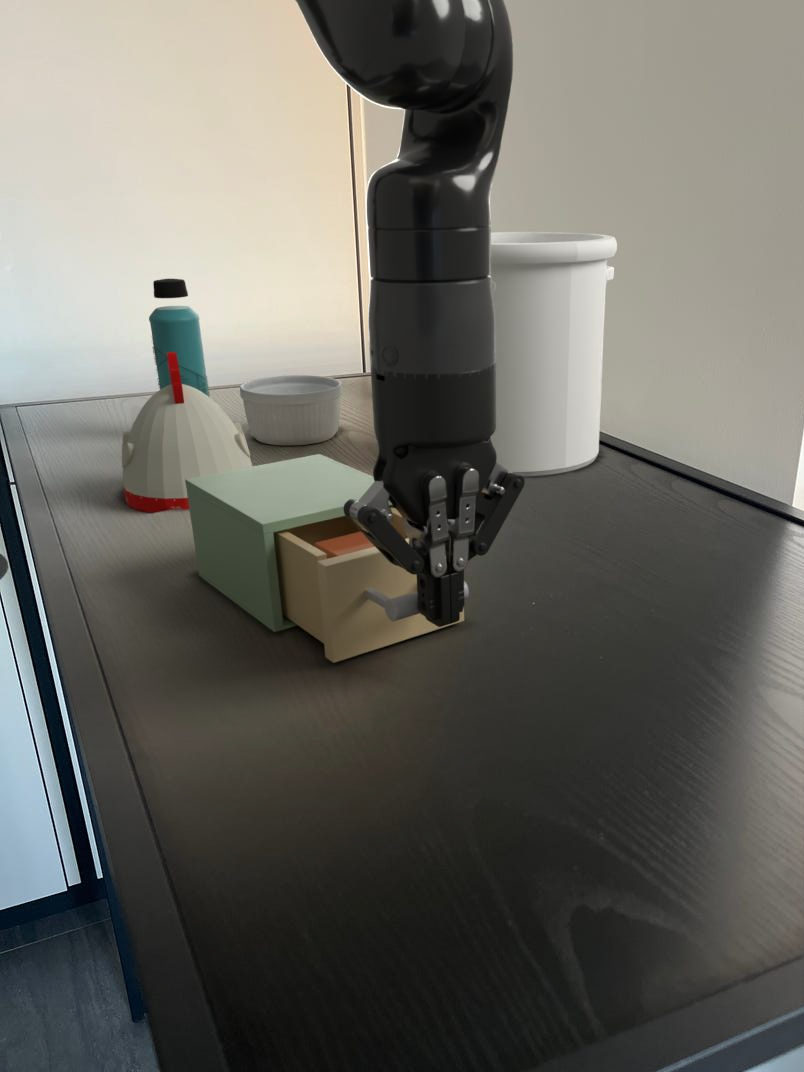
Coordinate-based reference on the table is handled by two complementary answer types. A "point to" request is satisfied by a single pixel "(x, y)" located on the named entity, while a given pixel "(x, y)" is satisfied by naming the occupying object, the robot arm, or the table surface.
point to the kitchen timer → (177, 445)
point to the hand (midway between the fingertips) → (441, 620)
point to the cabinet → (263, 523)
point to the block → (344, 544)
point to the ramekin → (292, 408)
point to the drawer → (347, 591)
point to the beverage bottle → (177, 337)
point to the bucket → (548, 348)
